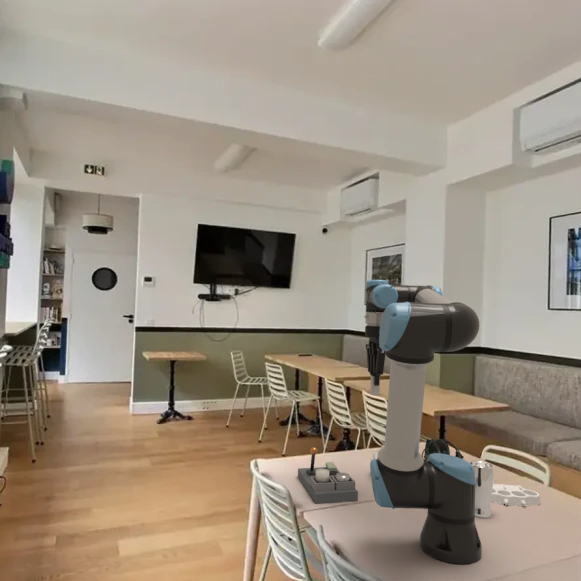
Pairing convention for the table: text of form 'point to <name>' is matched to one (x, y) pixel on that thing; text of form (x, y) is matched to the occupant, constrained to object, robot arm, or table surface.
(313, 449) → the toggle lever
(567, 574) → the table surface
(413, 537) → the table surface
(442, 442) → the headphones
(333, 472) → the switch panel
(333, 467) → the rocker switch
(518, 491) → the knuckle duster
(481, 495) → the beer glass
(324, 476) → the white button
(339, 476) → the metal button
